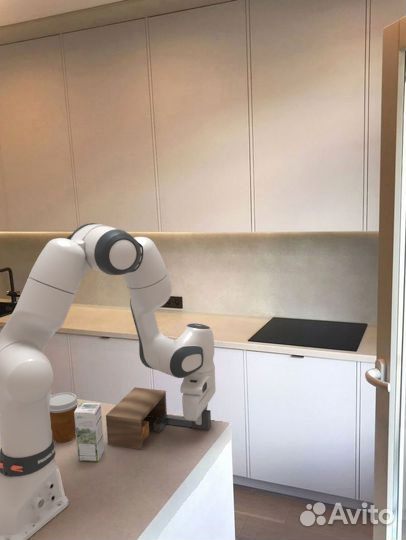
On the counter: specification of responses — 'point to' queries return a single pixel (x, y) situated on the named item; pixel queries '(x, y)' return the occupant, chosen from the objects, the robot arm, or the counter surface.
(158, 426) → the metal crook
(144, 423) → the orange block
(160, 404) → the walnut cubby
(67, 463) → the counter surface
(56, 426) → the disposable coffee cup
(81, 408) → the syrup box
